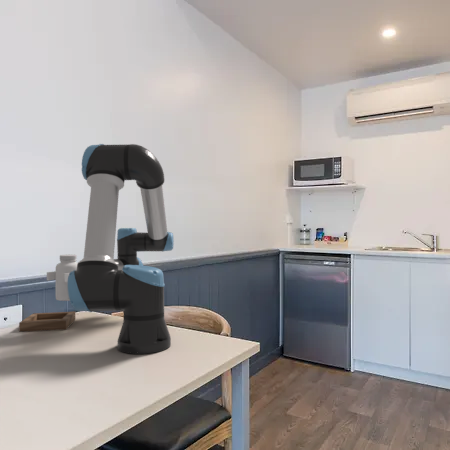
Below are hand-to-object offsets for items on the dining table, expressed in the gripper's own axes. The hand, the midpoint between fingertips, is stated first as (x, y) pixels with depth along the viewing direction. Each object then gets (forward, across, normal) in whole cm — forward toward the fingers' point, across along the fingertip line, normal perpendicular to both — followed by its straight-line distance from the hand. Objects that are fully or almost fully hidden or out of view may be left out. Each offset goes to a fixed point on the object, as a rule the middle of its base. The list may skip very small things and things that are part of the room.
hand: (55, 277), depth 133 cm
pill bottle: (-5, 0, -8) cm, 9 cm away
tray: (-6, +12, -19) cm, 23 cm away
